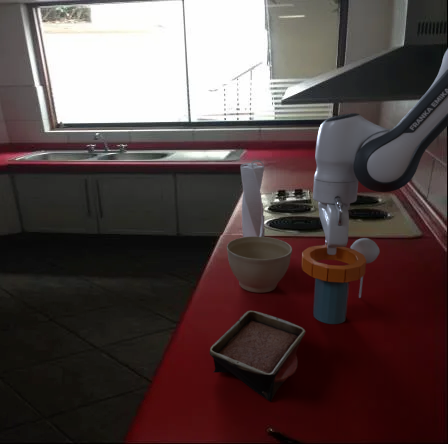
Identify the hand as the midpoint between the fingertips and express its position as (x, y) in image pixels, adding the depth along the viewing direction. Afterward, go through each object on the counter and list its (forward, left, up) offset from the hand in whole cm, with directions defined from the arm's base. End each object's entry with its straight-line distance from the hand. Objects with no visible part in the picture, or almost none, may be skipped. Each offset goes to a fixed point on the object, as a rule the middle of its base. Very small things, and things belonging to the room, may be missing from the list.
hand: (330, 251), depth 94 cm
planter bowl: (+16, -8, -14) cm, 22 cm away
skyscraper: (+19, -39, -14) cm, 45 cm away
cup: (0, +5, -14) cm, 15 cm away
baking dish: (+15, +27, -14) cm, 34 cm away
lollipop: (-8, -5, -14) cm, 17 cm away
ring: (0, +5, -2) cm, 6 cm away
